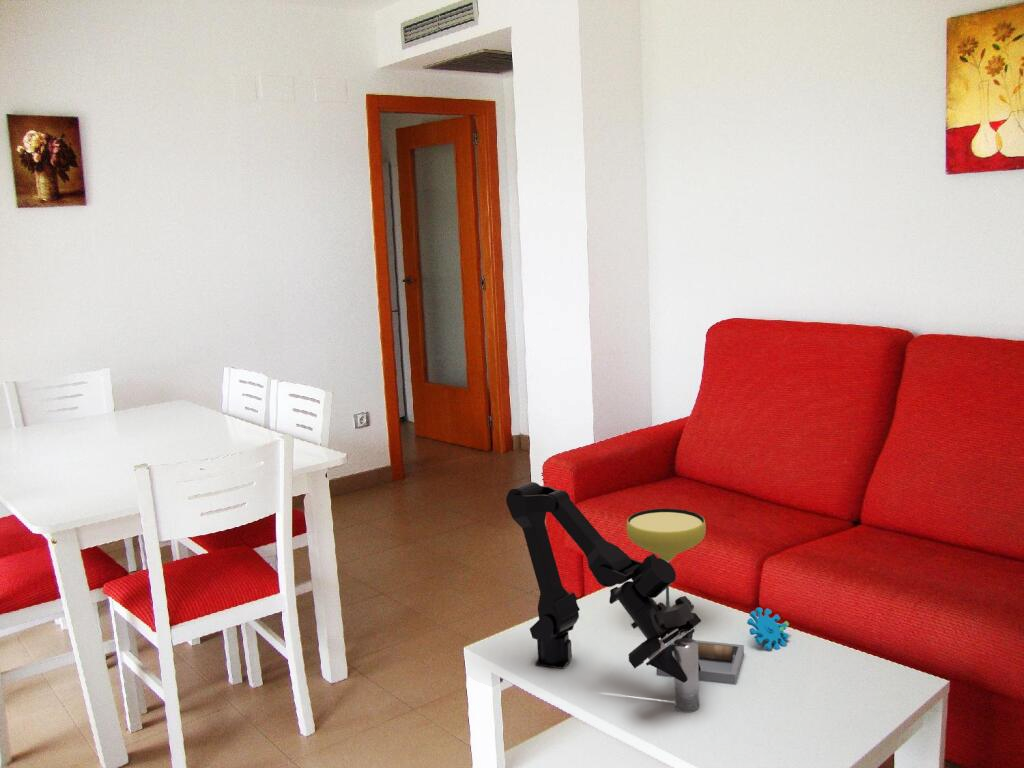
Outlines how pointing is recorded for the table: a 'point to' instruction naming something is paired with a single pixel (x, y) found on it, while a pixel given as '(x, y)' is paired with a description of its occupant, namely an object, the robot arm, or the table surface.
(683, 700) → the sleeve
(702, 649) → the rod
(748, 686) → the table surface
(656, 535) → the cocktail glass
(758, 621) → the gear
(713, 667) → the tray
